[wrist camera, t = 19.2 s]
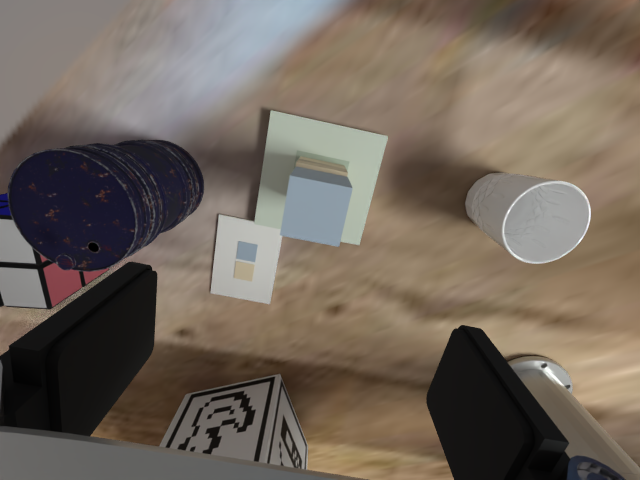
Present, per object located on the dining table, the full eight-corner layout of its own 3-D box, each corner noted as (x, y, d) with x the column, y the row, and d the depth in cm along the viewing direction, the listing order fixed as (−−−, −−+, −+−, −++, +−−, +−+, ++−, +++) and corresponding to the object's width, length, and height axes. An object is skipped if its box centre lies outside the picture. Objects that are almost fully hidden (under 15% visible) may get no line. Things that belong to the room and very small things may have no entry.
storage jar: (105, 155, 38) (-70, 180, 21) (180, 125, 37) (59, 126, 20) (147, 232, 41) (24, 307, 24) (218, 207, 40) (140, 267, 23)
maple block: (334, 207, 39) (336, 222, 33) (293, 199, 38) (287, 212, 33) (344, 165, 37) (348, 172, 31) (300, 156, 37) (296, 161, 31)
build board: (358, 241, 41) (359, 245, 40) (256, 221, 41) (253, 224, 39) (386, 135, 37) (388, 136, 36) (272, 110, 36) (270, 110, 35)
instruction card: (270, 303, 44) (269, 304, 44) (211, 291, 44) (210, 293, 44) (283, 226, 41) (283, 227, 40) (219, 213, 40) (218, 214, 40)
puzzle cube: (98, 195, 40) (27, 217, 30) (110, 270, 43) (51, 311, 34) (15, 190, 40) (-81, 211, 30) (34, 266, 43) (-47, 305, 34)
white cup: (448, 219, 40) (486, 248, 31) (479, 157, 38) (531, 167, 28) (505, 240, 41) (559, 274, 32) (539, 180, 39) (609, 198, 29)
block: (280, 373, 48) (261, 476, 34) (308, 446, 53) (302, 562, 39) (186, 393, 50) (131, 500, 36) (221, 462, 55) (185, 580, 40)
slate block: (336, 225, 33) (339, 246, 27) (287, 216, 33) (279, 235, 27) (347, 176, 31) (352, 188, 26) (296, 166, 31) (289, 175, 25)
